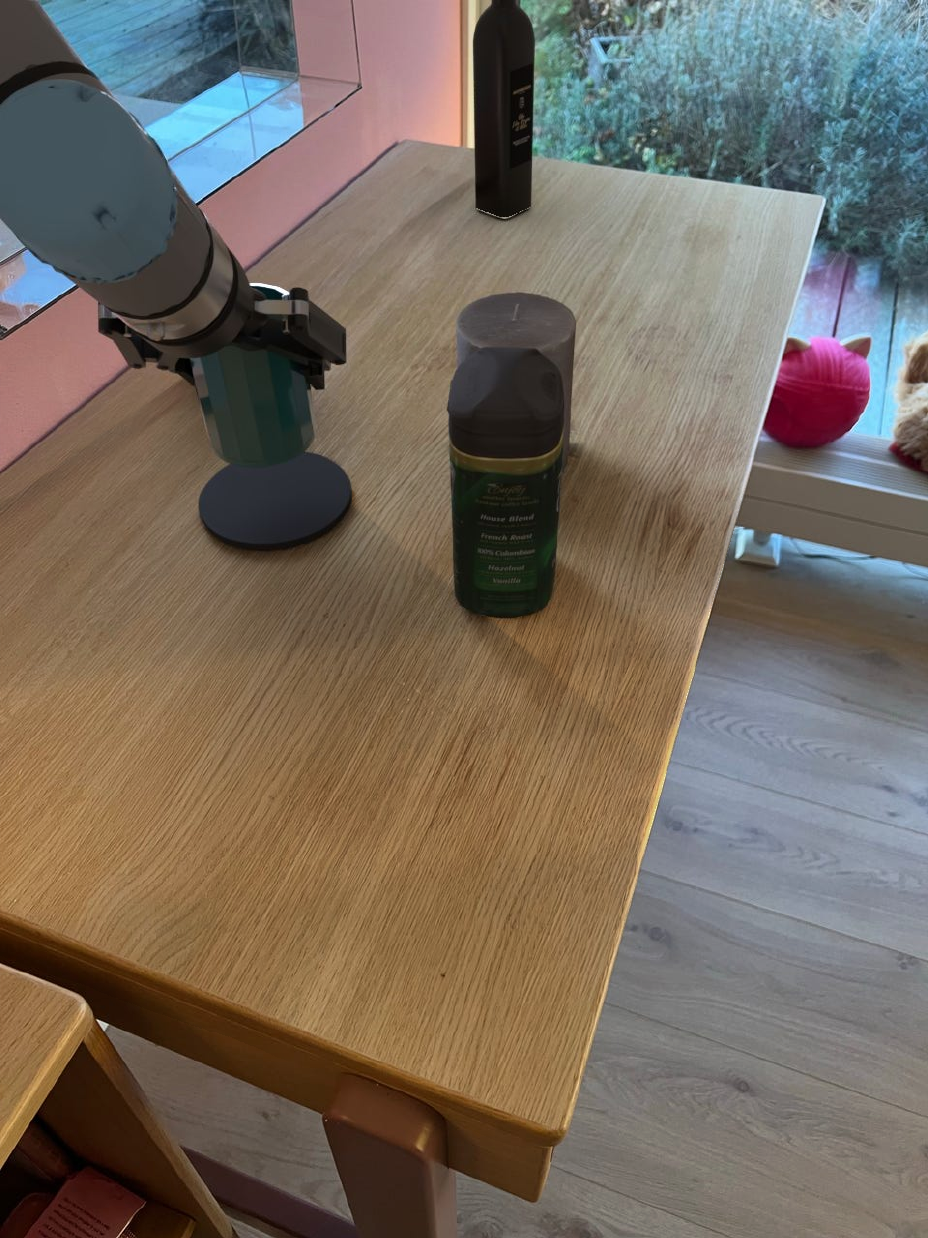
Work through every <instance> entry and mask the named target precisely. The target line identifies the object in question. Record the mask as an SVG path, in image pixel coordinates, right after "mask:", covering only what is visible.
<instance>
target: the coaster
mask: <svg viewBox="0 0 928 1238" xmlns="http://www.w3.org/2000/svg"><path fill="white" fill-rule="evenodd" d="M352 502H353V490H352V483H351V481H350V477H349V476H348V474H347V472H346V471H345V469H343V468H342V467H341V465H339V464H338V463H337V462H335V461H334V460H332V459H330V458H329V457H326V456H323V455H322V454H319V453H318V454H317V453H316V452H315V453H314V452H311V451H307V450H306V451H305V452H303V453H302V454H300V455H299V456H297V457H295V458H293V459H291V460H289V461H286V462H284V463H280V464H277V465H272V466H266V467H242V466H237V465H233V464H230V463H228V465H226V466H224V467H222V468H220V470H218V471H217V472H216V473H214V475H213V476H211V477H210V478H209V480H208V481H207V482H206V483H205V485H204V486H203V488H202V491H201V493H200V494H199V498H198V512H199V517H200V520H201V522H202V525H203V527H204V528H205V530H206V531H207V532H208V534H210V535H211V536H212V537H213V538H214V539H216V540H217V541H219V542H220V543H223V544H224V545H227V546H229V547H232V548H235V549H239V550H243V551H250V552H278V551H286V550H291V549H295V548H298V547H302V546H305V545H307V544H310V543H312V542H314V541H317V540H319V539H321V538H322V537H324V536H326V535H328V534H329V533H330V532H332V531H333V530H334V529H335V528H337V527H338V526H339V525H340V524H341V522H342V521H344V519H345V517H346V516H347V515H348V513H349V511H350V509H351V506H352Z"/></svg>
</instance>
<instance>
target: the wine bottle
mask: <svg viewBox="0 0 928 1238" xmlns="http://www.w3.org/2000/svg"><path fill="white" fill-rule="evenodd" d="M535 53H536V38H535V31H534V27H533V23H532V21H531V19H530V16H529V15H528V14H527V13H526V12H525V11H524V9H523V8H522V7H521V6H520V5H518V1H517V0H491V3H490V5H489V6H488V7H487V8H486V9H484V11H483V12H482V13H481V15H480V16H479V17H478V20H477V22H476V24H475V27H474V31H473V35H472V78H473V82H472V85H473V87H472V88H473V136H474V137H473V140H474V146H473V147H474V195H475V196H474V197H475V198H474V199H475V200H474V202H475V204H474V205H475V209H476V208H478V209H480V210H483V211H485V212H489V213H491V214H494V215H496V216H499V217H509V216H512V215H514V214H516V213H519V212H520V211H522V210H525V209H527V208H529V207H530V208H531V207H532V192H533V191H532V190H533V189H532V187H533V186H532V185H533V183H532V182H533V150H534V149H533V147H534V146H533V143H534V102H535V60H536V57H535V56H536V55H535ZM530 208H529V209H530Z"/></svg>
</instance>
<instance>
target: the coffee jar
mask: <svg viewBox="0 0 928 1238" xmlns="http://www.w3.org/2000/svg"><path fill="white" fill-rule="evenodd" d="M446 411H447V413H448V423H447V424H448V426H447V427H448V451H449V452H448V455H449V473H450V474H449V475H450V476H449V477H450V480H449V481H450V482H449V483H450V502H451V503H450V504H451V505H450V506H451V525H452V526H451V527H452V569H453V587H454V595H455V596H454V597H455V599H456V601H457V602H458V604H459V605H460V607H461V608H463V609H465V610H466V611H468V612H470V613H472V614H474V615H479V616H484V617H486V618H491V619H492V618H494V619H503V620H504V619H518V618H523V617H524V618H525V617H529V616H532V615H535V614H537V613H539V612H541V611H543V610H544V609H545V608H546V607H547V606H548V605H549V602H550V601H551V599H552V596H553V591H554V586H555V576H556V564H557V549H558V535H559V521H560V520H559V518H560V509H561V508H560V507H561V496H562V483H563V482H562V481H563V473H562V463H563V433H564V391H563V382H562V376H561V373H560V371H559V369H558V368H557V367H556V365H555V364H554V363H553V362H552V361H551V360H550V359H548V358H547V357H546V356H544V355H543V354H541V353H540V352H539V350H537V349H535V348H523V347H482V348H480V349H479V350H478V351H477V352H476V353H474V354H472V355H471V356H469V357H468V358H467V359H466V360H464V361H463V362H462V363H461V364H460V365H459V367H456V369H455V371H454V375H453V377H452V379H451V381H450V384H449V392H448V399H447V404H446Z"/></svg>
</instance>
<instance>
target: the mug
mask: <svg viewBox="0 0 928 1238" xmlns="http://www.w3.org/2000/svg"><path fill="white" fill-rule="evenodd" d="M249 283H250V282H249ZM250 286H251V287H252V288H253V289H256V290H258V291H260V292H262V293H263V294H264V295H265V296H266V298H267V300H282V296H283V295H286V294H287V295H289V291H287V290H285V289H283V288H282V287H280V286H276V285H270V284H265V283H260V282H259V283H258V282H254V283H253V282H251V283H250ZM188 360H189V364H190V368H191V372H192V376H193V380H194V384H195V387H194V388H195V391H196V396H197V399H198V404H199V408H200V412H201V415H202V419H203V424H204V428H205V433H206V436H207V439H208V442H209V445H210V448H211V451H212V452H213V454H214V455H215V456H216V457H217V458H218V459H220V460H222V461H223V462H225V463H227V464H233V465H237V466H242V467H266V466H272V465H277V464H280V463H284V462H286V461H289V460H291V459H293V458H295V457H297V456H299V455H300V454H302V453H303V452H305V451H306V452H307V450H308V449H309V448H310V447H311V446H312V444H314V442H315V440H316V437H317V433H318V432H317V431H318V429H317V417H316V410H315V404H314V396H313V391H312V390H313V389H312V385H311V384H310V382H309V381H308V380H307V379H306V377H305V376H304V375H303V374H302V372H301V371H300V367H299V362H296V361H293V360H291V359H288V358H285V357H282V356H280V355H277V354H274V353H272V352H269V351H266V350H258V351H252V352H249V351H246V350H243V349H241V348H238V347H235V346H225V347H224V348H222V349H221V350H219V351H217V352H215V353H213V354H210V355H208V356H204V357H200V358H188Z"/></svg>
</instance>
